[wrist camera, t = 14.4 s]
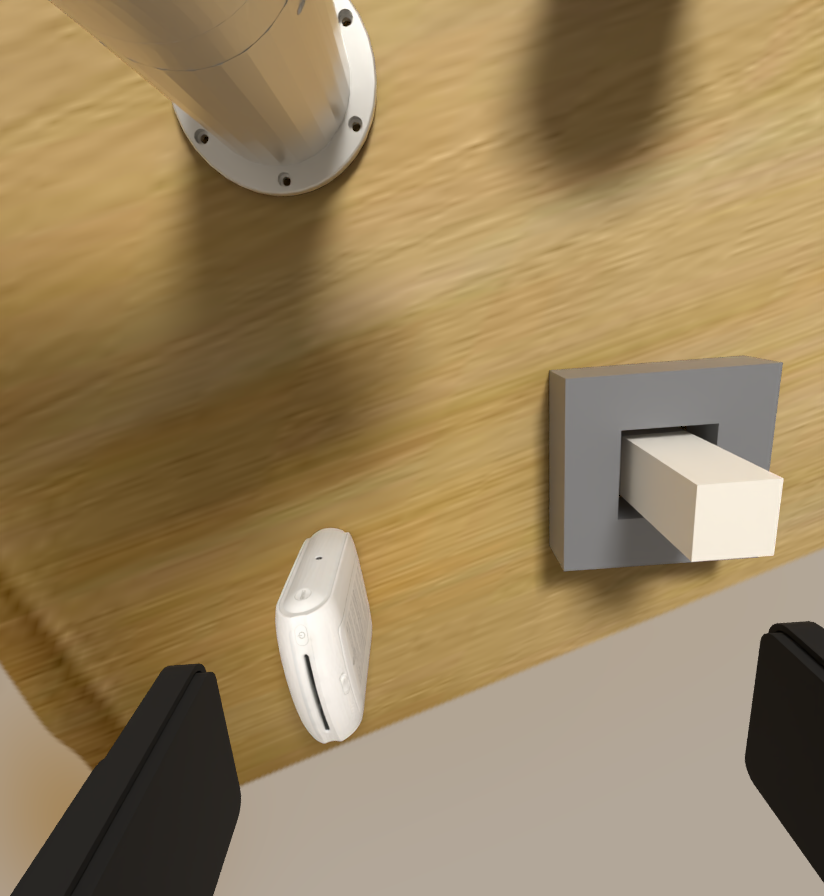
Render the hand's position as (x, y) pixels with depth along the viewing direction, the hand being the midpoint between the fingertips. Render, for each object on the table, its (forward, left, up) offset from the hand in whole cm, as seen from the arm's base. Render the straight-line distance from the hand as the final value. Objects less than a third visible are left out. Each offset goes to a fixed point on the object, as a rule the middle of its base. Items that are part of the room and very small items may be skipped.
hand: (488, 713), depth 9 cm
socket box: (+6, +16, -30) cm, 35 cm away
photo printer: (+15, -8, -31) cm, 35 cm away
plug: (+6, +16, -30) cm, 35 cm away
